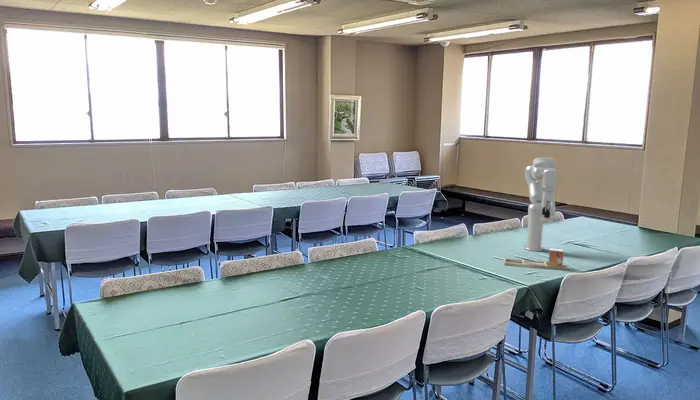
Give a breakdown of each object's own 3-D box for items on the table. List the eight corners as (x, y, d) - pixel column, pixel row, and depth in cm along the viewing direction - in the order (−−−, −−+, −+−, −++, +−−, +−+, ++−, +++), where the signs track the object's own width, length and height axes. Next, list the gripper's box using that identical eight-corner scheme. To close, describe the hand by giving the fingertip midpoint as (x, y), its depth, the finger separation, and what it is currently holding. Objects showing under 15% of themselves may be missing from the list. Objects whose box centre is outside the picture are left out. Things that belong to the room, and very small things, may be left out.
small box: (547, 266, 319) (549, 249, 317) (548, 264, 324) (549, 247, 322) (561, 268, 316) (563, 251, 314) (562, 266, 321) (563, 249, 319)
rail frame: (503, 260, 330) (503, 258, 330) (564, 265, 323) (564, 263, 323) (504, 264, 321) (504, 262, 321) (567, 270, 313) (567, 267, 313)
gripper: (540, 187, 336) (537, 213, 338) (543, 190, 319) (541, 218, 322) (552, 187, 334) (550, 214, 337) (556, 191, 317) (554, 219, 320)
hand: (545, 216), depth 329 cm, fingers open, 9 cm apart
